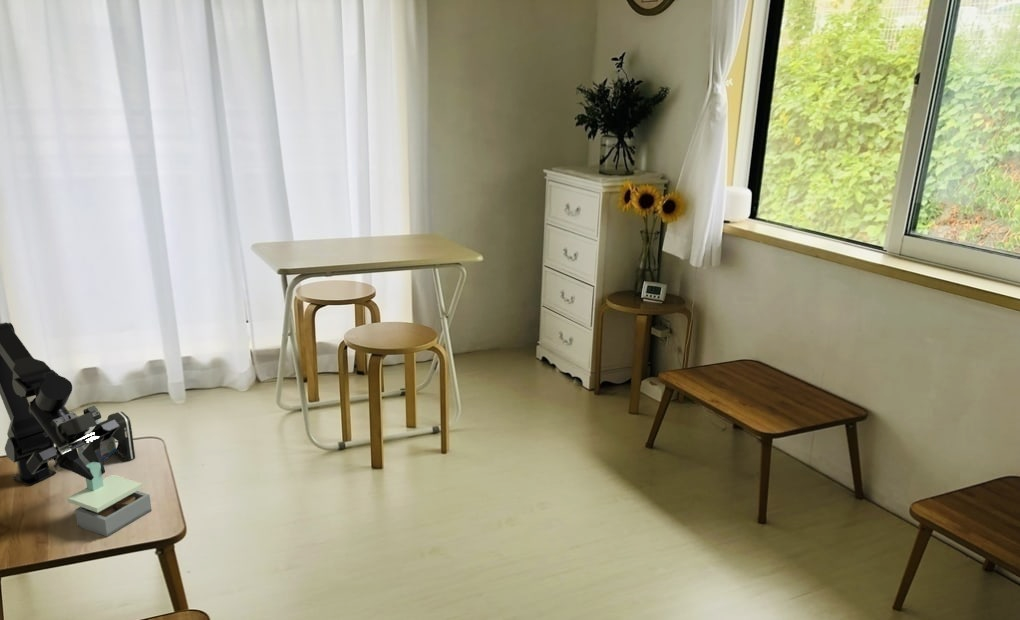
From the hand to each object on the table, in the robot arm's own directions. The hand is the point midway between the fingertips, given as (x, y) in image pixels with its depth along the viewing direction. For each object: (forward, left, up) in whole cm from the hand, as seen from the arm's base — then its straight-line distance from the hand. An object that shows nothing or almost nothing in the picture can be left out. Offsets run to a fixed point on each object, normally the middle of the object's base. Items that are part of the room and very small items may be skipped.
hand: (98, 476), depth 159 cm
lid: (+2, 0, -4) cm, 4 cm away
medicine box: (-23, +17, -10) cm, 30 cm away
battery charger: (-18, +20, -9) cm, 29 cm away
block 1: (+3, -3, -9) cm, 10 cm away
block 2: (+4, +2, -9) cm, 11 cm away
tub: (+4, 0, -9) cm, 10 cm away
